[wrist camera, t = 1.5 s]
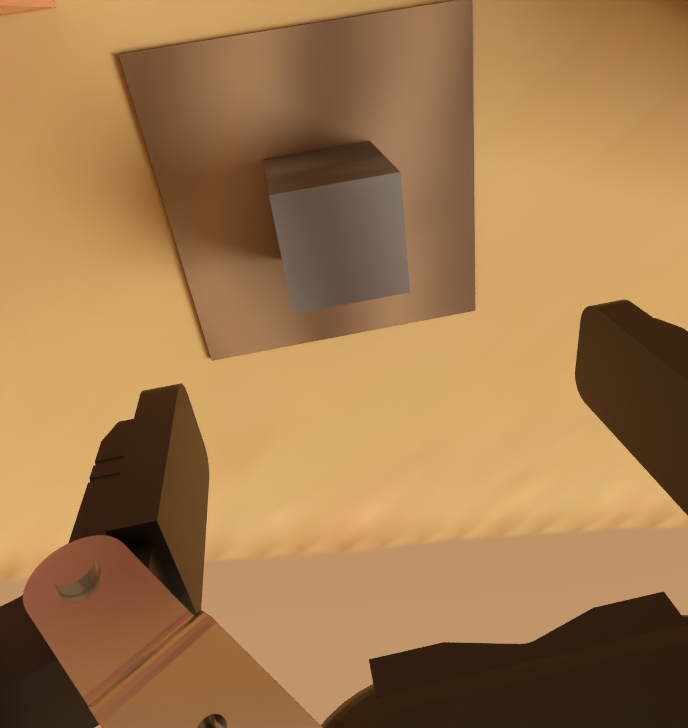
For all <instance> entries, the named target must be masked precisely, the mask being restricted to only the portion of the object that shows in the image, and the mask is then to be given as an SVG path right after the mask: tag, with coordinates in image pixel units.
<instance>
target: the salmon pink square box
mask: <svg viewBox="0 0 688 728" xmlns="http://www.w3.org/2000/svg"><path fill="white" fill-rule="evenodd" d="M49 8H56V7H55V4H54V1H53V0H0V16H3V15H9V14H16V13H22V12H29V11H36V10H42V9H49Z"/></svg>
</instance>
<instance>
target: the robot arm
mask: <svg viewBox="0 0 688 728" xmlns="http://www.w3.org/2000/svg"><path fill="white" fill-rule="evenodd" d="M575 379H576V385H577V389H578V391H579V394H580V396H581V398H582V399H583V401H584V402H585V403H586V404H587V406H588V407H589V408H590V409H591V410H592V411H593V412H594V413H595V414H596V415H597V416H598V418H599V419H600V420H601V421H602V422H603V423H604V424H605V425H606V426H607V427H608V429H609V430H610V431H611V432H612V433H613V434H614V435H615V436H616V437H617V438H618V440H619V441H620V442H621V443H622V444H623V445H624V446H625V447H626V448H627V449H628V450H629V452H630V453H631V454H632V455H633V456H634V457H635V458H636V459H637V460H638V461H639V463H640V464H641V465H642V466H643V467H644V468H645V469H646V470H647V471H648V472H649V474H650V475H651V476H652V477H653V478H654V479H655V480H656V481H657V482H658V483H659V485H660V486H661V487H662V488H663V489H664V490H665V491H666V492H667V493H668V494H669V495H670V497H671V498H672V499H673V500H674V501H675V502H676V503H677V504H678V505H679V506H680V508H681V509H682V510H683V511H684V512H685V513H686V514H687V515H688V331H686V330H685V329H683V328H681V327H678V326H676V325H673V324H670V323H667V322H665V321H662V320H659V319H656V318H653V317H651V316H650V315H648V314H647V313H646V312H644V311H643V310H641V309H640V308H639V307H637V306H636V305H634V304H633V303H632V302H630V301H628V300H619V301H614V302H609V303H603V304H598V305H593V306H588V307H586V308H585V309H584V311H583V313H582V316H581V321H580V331H579V340H578V350H577V359H576V369H575ZM95 464H96V465H95V466H93V469H92V472H91V475H90V478H89V479H90V483H88V485H87V488H86V491H85V494H84V497H83V500H82V503H81V506H80V509H79V512H78V515H77V519H76V522H75V525H74V528H73V531H72V534H71V537H70V540H69V543H68V544H66V545H64V546H63V547H61V548H59V549H58V550H56V551H55V552H53V553H52V554H51V555H49V556H48V557H47V558H46V559H45V560H44V561H43V562H41V564H40V565H39V566H38V567H37V568H36V569H35V570H34V572H33V573H32V575H31V576H30V578H29V580H28V582H27V584H26V586H25V589H24V594H23V595H22V596H21V597H19V598H17V599H15V600H13V601H11V602H9V603H7V604H5V605H3V606H0V728H94V727H96V726H98V725H100V726H101V728H688V615H681V614H680V613H679V611H678V610H677V609H676V607H675V606H674V605H673V604H672V602H671V601H670V599H669V598H668V597H667V596H666V594H665V593H664V592H660V593H656V594H651V595H647V596H643V597H639V598H634V599H630V600H626V601H621V602H617V603H613V604H608V605H604V606H599V607H595V608H593V609H591V610H589V611H587V612H585V613H583V614H582V615H580V616H578V617H576V618H574V619H573V620H571V621H569V622H567V623H565V624H564V625H562V626H560V627H558V628H556V629H555V630H553V631H551V632H549V633H548V634H546V635H544V636H542V637H540V638H539V639H537V640H535V641H533V642H531V643H526V644H491V643H490V644H489V643H446V642H443V643H439V644H435V645H430V646H426V647H422V648H417V649H413V650H408V651H404V652H400V653H396V654H391V655H387V656H382V657H378V658H374V659H369V663H370V668H371V674H372V679H373V684H372V685H370V686H368V687H367V688H365V689H363V690H362V691H360V692H358V693H356V694H355V695H354V696H352V697H351V698H350V699H348V700H347V701H345V702H344V703H343V704H342V705H341V706H339V707H338V708H337V709H336V710H335V711H334V712H333V713H332V714H331V715H330V716H329V717H328V718H327V719H326V720H325V721H324V723H323V724H322V725H320V724H319V723H318V722H317V721H316V720H315V719H314V718H313V717H312V716H311V715H310V714H309V713H308V712H307V711H306V710H305V709H304V708H303V707H302V706H301V705H300V704H299V703H298V702H297V701H296V700H295V699H294V698H293V697H292V696H291V695H290V694H289V693H288V692H287V691H286V690H285V689H284V688H283V687H282V686H281V685H279V684H278V682H277V681H276V680H274V678H273V677H272V676H271V675H270V674H269V673H268V672H267V671H266V670H264V668H263V667H261V665H259V663H258V662H256V661H255V659H253V658H252V656H251V655H250V654H249V653H248V652H246V651H245V650H244V649H243V648H242V647H241V646H240V645H239V644H238V643H237V642H236V641H235V640H234V639H233V638H232V637H231V636H230V635H229V634H228V633H227V632H226V631H225V630H224V629H223V628H222V627H221V626H220V625H219V624H218V623H217V622H216V621H215V620H214V619H213V618H212V617H211V616H210V615H208V614H207V613H205V612H203V611H201V602H202V585H203V569H204V553H205V537H206V521H207V505H208V489H209V465H208V458H207V453H206V449H205V445H204V442H203V439H202V436H201V433H200V430H199V427H198V424H197V421H196V418H195V415H194V412H193V409H192V406H191V403H190V400H189V397H188V394H187V391H186V389H185V387H184V386H183V384H176V385H171V386H165V387H160V388H155V389H150V390H145V391H142V392H141V394H140V398H139V402H138V405H137V409H136V413H135V417H134V419H131V420H126V421H121V422H118V423H117V424H116V425H115V426H114V428H113V429H112V430H111V431H110V432H109V433H108V435H107V436H106V437H105V438H104V439H103V440H102V441H101V444H100V448H99V451H98V454H97V457H96V460H95Z"/></svg>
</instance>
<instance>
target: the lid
mask: <svg viewBox="0 0 688 728" xmlns="http://www.w3.org/2000/svg"><path fill="white" fill-rule="evenodd" d="M118 55H119V58H120V62H121V65H122V68H123V71H124V75H125V78H126V81H127V85H128V88H129V91H130V94H131V98H132V101H133V104H134V108H135V111H136V114H137V117H138V121H139V124H140V127H141V131H142V134H143V137H144V140H145V144H146V147H147V150H148V153H149V157H150V160H151V163H152V167H153V170H154V173H155V176H156V180H157V183H158V186H159V190H160V193H161V196H162V199H163V203H164V206H165V209H166V213H167V216H168V219H169V222H170V226H171V229H172V232H173V236H174V239H175V242H176V245H177V249H178V252H179V255H180V259H181V262H182V265H183V268H184V272H185V275H186V278H187V281H188V285H189V288H190V291H191V295H192V298H193V301H194V304H195V308H196V311H197V314H198V318H199V321H200V324H201V327H202V331H203V334H204V337H205V341H206V344H207V347H208V350H209V354H210V357H211V360H212V361H213V360H218V359H223V358H228V357H234V356H239V355H244V354H249V353H255V352H260V351H265V350H270V349H276V348H281V347H286V346H291V345H297V344H302V343H307V342H312V341H318V340H323V339H328V338H333V337H339V336H344V335H349V334H354V333H360V332H365V331H370V330H375V329H381V328H386V327H391V326H396V325H402V324H407V323H412V322H417V321H423V320H428V319H433V318H438V317H444V316H449V315H454V314H459V313H465V312H470V311H475V229H474V125H473V20H472V0H455V1H449V2H442V3H436V4H430V5H424V6H417V7H411V8H405V9H398V10H392V11H386V12H380V13H373V14H367V15H361V16H355V17H348V18H342V19H336V20H330V21H323V22H317V23H311V24H304V25H298V26H292V27H286V28H279V29H273V30H267V31H261V32H254V33H248V34H242V35H235V36H229V37H223V38H217V39H210V40H204V41H198V42H192V43H185V44H179V45H173V46H167V47H160V48H154V49H148V50H141V51H135V52H129V53H123V54H118Z"/></svg>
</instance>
